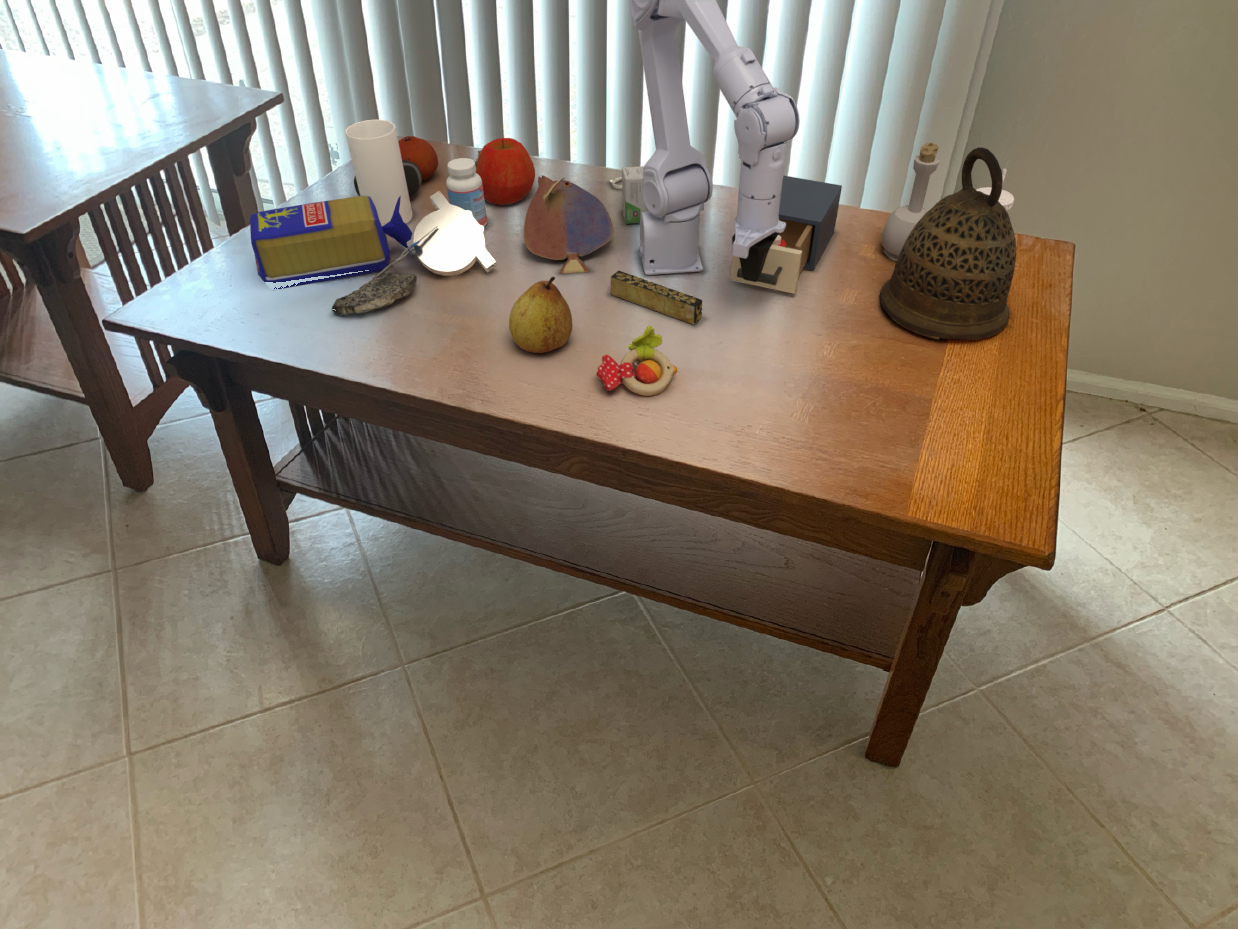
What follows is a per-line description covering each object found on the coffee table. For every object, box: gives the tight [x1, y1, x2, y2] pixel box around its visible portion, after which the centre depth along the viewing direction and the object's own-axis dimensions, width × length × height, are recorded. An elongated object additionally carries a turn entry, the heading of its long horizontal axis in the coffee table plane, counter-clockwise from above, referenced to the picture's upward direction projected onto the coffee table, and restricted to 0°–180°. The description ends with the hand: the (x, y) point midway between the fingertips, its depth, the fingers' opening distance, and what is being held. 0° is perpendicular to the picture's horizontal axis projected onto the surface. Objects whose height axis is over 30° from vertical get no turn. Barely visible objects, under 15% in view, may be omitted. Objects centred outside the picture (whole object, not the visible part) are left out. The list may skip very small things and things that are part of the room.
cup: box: [345, 119, 414, 226], centre depth 149 cm, size 8×8×16 cm
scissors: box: [374, 226, 438, 278], centre depth 137 cm, size 14×8×1 cm
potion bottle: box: [880, 142, 940, 262], centre depth 136 cm, size 9×9×18 cm
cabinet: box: [778, 174, 843, 272], centre depth 142 cm, size 14×12×9 cm
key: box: [609, 176, 622, 191], centre depth 161 cm, size 12×1×4 cm
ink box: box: [621, 165, 678, 225], centre depth 150 cm, size 8×5×12 cm
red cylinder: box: [772, 235, 786, 247], centre depth 134 cm, size 4×4×5 cm
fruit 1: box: [398, 135, 439, 182], centre depth 163 cm, size 9×9×8 cm
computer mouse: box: [353, 160, 423, 198], centre depth 156 cm, size 7×12×4 cm
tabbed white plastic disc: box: [412, 190, 497, 277], centre depth 139 cm, size 15×8×11 cm
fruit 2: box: [508, 276, 573, 354], centre depth 121 cm, size 9×9×12 cm
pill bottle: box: [445, 157, 488, 228], centre depth 148 cm, size 6×6×11 cm
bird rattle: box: [595, 325, 678, 397], centre depth 116 cm, size 6×11×9 cm
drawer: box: [730, 219, 815, 295], centre depth 134 cm, size 17×10×7 cm, turn 156°
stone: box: [331, 271, 417, 316], centre depth 133 cm, size 14×8×3 cm, turn 143°
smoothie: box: [976, 168, 1015, 213], centre depth 137 cm, size 6×6×14 cm
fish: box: [523, 174, 615, 275], centre depth 142 cm, size 20×12×15 cm
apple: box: [476, 137, 536, 206], centre depth 155 cm, size 11×11×11 cm
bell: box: [879, 146, 1017, 341], centre depth 122 cm, size 19×26×20 cm
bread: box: [249, 195, 414, 290], centre depth 138 cm, size 10×25×10 cm, turn 108°
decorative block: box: [610, 270, 703, 326], centre depth 130 cm, size 15×2×4 cm, turn 55°
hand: (751, 278), depth 125 cm, fingers closed
